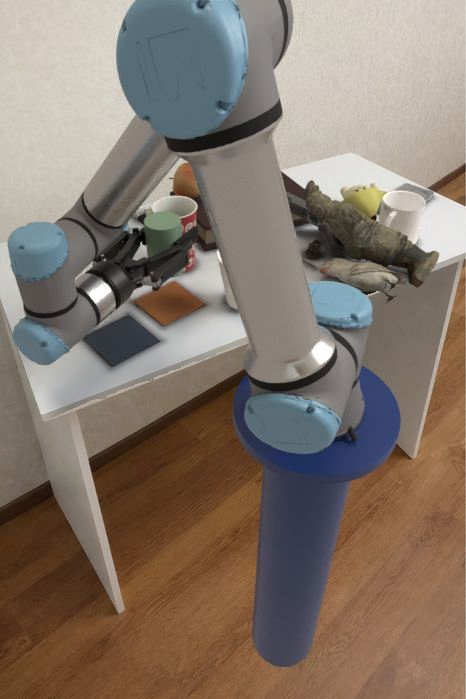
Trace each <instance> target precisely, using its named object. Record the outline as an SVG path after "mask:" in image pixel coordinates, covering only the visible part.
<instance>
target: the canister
mask: <svg viewBox="0 0 466 699" xmlns="http://www.w3.org/2000/svg"><path fill="white" fill-rule="evenodd" d="M143 227H144V228H145V238H146V246H145V248H146V256H147V257H146V258H149V257H151V256H154V255H156V254H158V253H160V252H163V251H165V250H167V249H169V248H172V247H174V242H175V241H176V240H178V239H179V238H180V237H181V236H182V230H181V218H180V217H179V216H178V215H177V214H175V213H172V212H166V211H161V212H155V213H152V214H150V215H148V216H147V217H146V218H145V219H144V223H143ZM182 271H183V269H182V270H180V271H179V272H178V273H176V274H175V275H174V276H172V277H171V278H170V279H172V278H175V277H178V276H179V275H181V274H182V273H181V272H182Z"/></svg>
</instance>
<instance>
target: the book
mask: <svg viewBox="0 0 466 699" xmlns="http://www.w3.org/2000/svg"><path fill="white" fill-rule="evenodd" d="M281 175H282V179H283V183H284V187H285V191H286V192H288V193H290V194H292V195H294V196H297V197H299V198H301V199H303V200H305V201H306V197H305V193H304V190H305V188H304V187H303V186H302V185H300V184H299V183H298V182H296V181H295V180H293V179H292V177H290V176H289V175H287V174H286V173H285V172H283V171H282V170H281ZM169 196H176V195H175V193H174V192H173V190H172V191H170V192H169ZM192 200H194V201H195V202H196V203H197V206H198V208H197V211H196V226H197V227H198V240H197V241H196V243H198V244H199V245H200V246H201V248H202V249H203V250H204V251H205V252H208V251H211V250H215V249H218V247H217V244H216V241H215V238H214V235H213V232H212V229H211V226H210V223H209V220H208V217H207V214H206V211H205V208H204V205H203V202H202V199H201V196H199V197H197V198H195V199H192ZM291 216H292V220H293V224H294V228H295V227H300V226H302V225H306V224H310V223H309V222H308V221H307V220H305V219H303V218H301V217H299V216H297V215H295V214H293V213H291Z"/></svg>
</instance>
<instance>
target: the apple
mask: <svg viewBox="0 0 466 699" xmlns="http://www.w3.org/2000/svg"><path fill="white" fill-rule="evenodd" d="M168 180H172V182H173V183H172V191H173V192H174V193H175V195H176V196H184V197H188V198H190V199H195V198H197V197H199V196H200V193H199V190H198V187H197V184H196V181H195V178H194V175H193V172H192V169H191V166H190V164H189V163H188V162H184V163H182V164H180V165H179V166H178V167H177V168H176V170H175V172H174V174H173V177H168Z"/></svg>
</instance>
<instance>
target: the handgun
mask: <svg viewBox="0 0 466 699" xmlns="http://www.w3.org/2000/svg"><path fill="white" fill-rule="evenodd" d="M286 195H287V199H288V203H289V208H290V212H291V213H293V214H295V215H297V216H299V217H301V218H303V219H305V220H307V221H308V222H309V223H308V224H311V225H313V226H315V227H317V231H318V232H319V233H320V234H321V235H322V237H323V239H324V242H325V244H326V246H327V248H328V251H329V252H330V253H332V254H334V255H337V256H340V257H342V258H343V257H344V258H346V257H348V255H347V253H346V248H345V246H343V244H342V242H341V241H340V240H339V239H337V238H336V237H335V234H334V233H333V231H331V229H330V227H329V225H328V223H327V222H326V221H325V220H322V219H319V218H317V217H316V216H315V215H313V213H311V212H310V211H309V210H308V208H307V207H306V206H305V204H306V201H305V200H303V199H301V198H299V197H297V196H294V195H292V194H290V193H288V192H286Z"/></svg>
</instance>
